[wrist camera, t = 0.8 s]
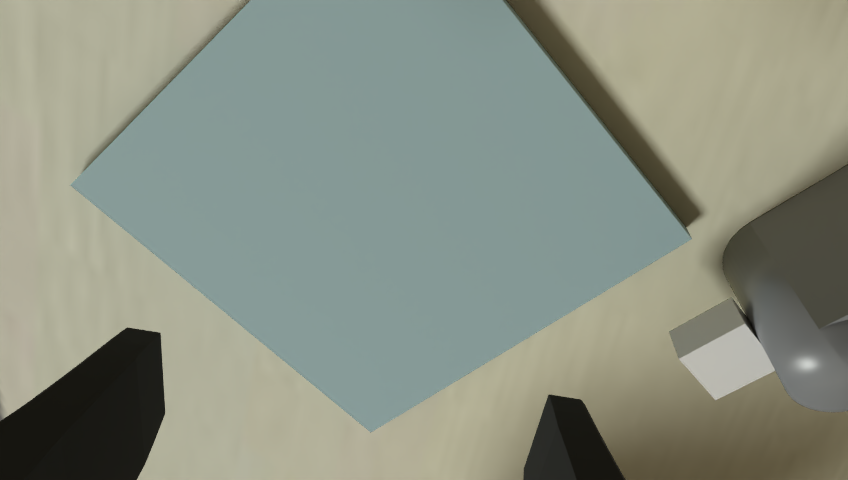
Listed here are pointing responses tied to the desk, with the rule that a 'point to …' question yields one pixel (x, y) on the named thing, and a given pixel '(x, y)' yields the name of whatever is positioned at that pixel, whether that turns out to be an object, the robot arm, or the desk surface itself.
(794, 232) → the plug
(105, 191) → the mat
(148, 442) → the robot arm
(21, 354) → the desk surface
